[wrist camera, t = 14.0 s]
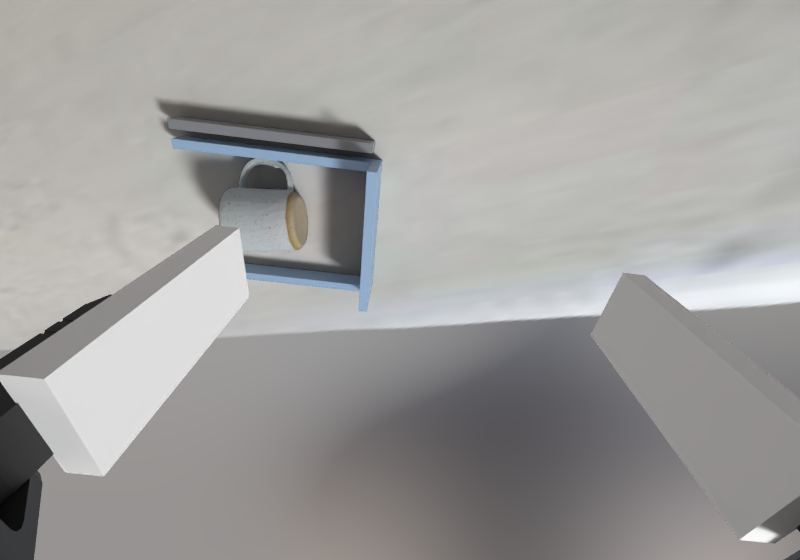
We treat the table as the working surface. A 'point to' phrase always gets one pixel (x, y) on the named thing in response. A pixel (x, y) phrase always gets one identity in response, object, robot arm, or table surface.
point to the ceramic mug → (265, 213)
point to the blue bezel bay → (317, 159)
